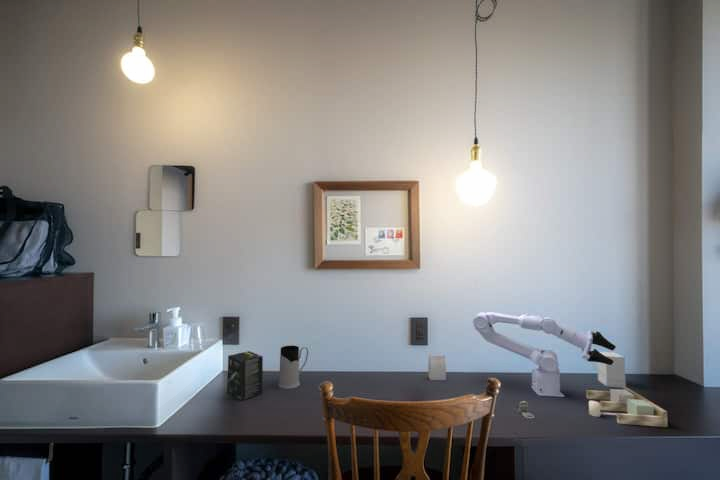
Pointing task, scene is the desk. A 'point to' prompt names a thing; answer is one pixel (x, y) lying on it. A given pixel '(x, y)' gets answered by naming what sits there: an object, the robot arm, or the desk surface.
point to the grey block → (620, 395)
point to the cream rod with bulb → (632, 408)
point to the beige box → (436, 367)
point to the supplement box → (612, 371)
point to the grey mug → (290, 366)
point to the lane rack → (633, 419)
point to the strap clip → (524, 410)
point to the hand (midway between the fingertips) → (613, 355)
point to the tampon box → (245, 375)
